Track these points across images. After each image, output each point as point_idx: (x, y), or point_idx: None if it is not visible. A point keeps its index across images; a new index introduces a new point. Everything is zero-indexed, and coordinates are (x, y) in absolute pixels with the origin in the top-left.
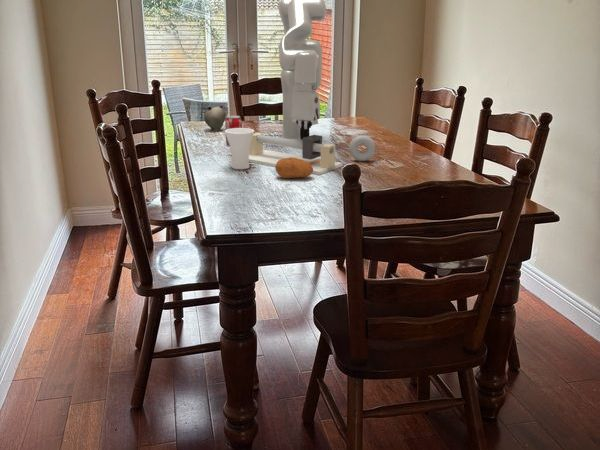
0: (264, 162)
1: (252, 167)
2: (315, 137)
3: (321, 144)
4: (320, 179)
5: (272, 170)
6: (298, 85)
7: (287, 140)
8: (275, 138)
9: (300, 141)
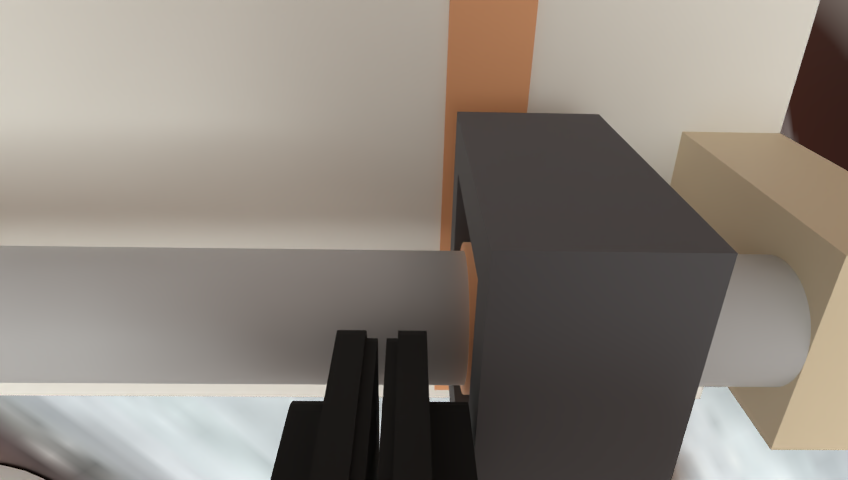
0: (64, 391)
1: (75, 472)
2: (659, 452)
3: (744, 369)
4: (740, 454)
5: (270, 457)
6: None
7: (51, 381)
8: None
9: (309, 371)
